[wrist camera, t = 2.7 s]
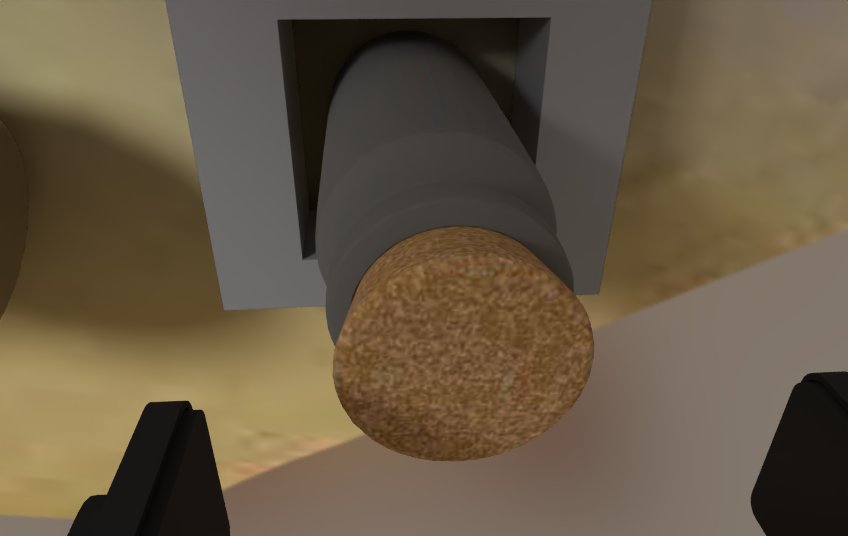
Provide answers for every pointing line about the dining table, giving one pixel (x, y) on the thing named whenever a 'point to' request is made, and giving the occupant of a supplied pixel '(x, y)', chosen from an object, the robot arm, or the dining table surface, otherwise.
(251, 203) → the grey cinder block
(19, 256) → the muzzle brake
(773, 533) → the robot arm
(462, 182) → the bottle
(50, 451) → the dining table surface
